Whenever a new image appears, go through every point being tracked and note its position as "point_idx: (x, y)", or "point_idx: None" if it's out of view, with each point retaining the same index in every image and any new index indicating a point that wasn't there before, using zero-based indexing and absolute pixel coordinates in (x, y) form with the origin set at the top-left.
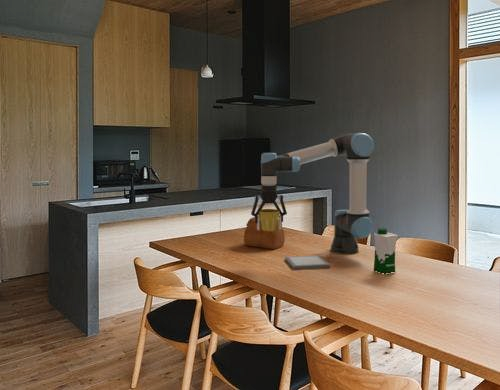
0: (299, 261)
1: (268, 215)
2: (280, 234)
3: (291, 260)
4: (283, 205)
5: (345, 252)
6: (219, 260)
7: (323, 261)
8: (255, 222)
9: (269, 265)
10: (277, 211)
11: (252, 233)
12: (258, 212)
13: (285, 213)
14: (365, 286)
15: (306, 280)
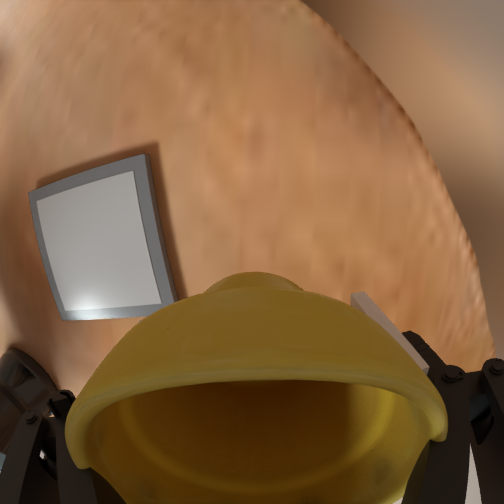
0: (116, 232)
1: (285, 310)
2: None
3: (148, 249)
4: (2, 501)
5: (18, 352)
6: (437, 289)
7: (42, 238)
8: (416, 334)
9: (251, 215)
10: (128, 489)
11: None
12: (451, 417)
13: (30, 416)
14: (14, 39)
15: (126, 30)
